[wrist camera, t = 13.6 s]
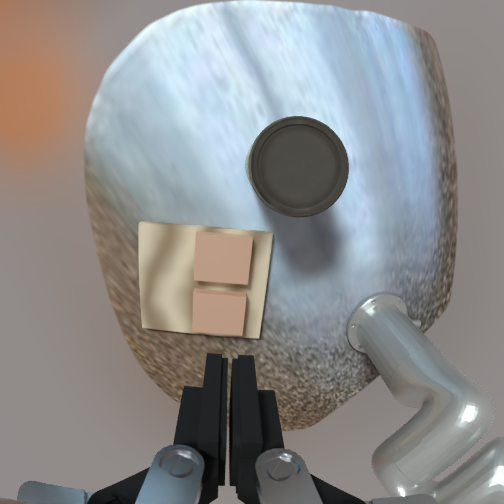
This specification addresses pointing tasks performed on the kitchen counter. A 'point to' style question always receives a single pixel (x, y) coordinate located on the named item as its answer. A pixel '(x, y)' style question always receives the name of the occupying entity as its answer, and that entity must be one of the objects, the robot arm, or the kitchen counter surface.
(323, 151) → the coffee can
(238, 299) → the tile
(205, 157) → the kitchen counter surface
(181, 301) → the board
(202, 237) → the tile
